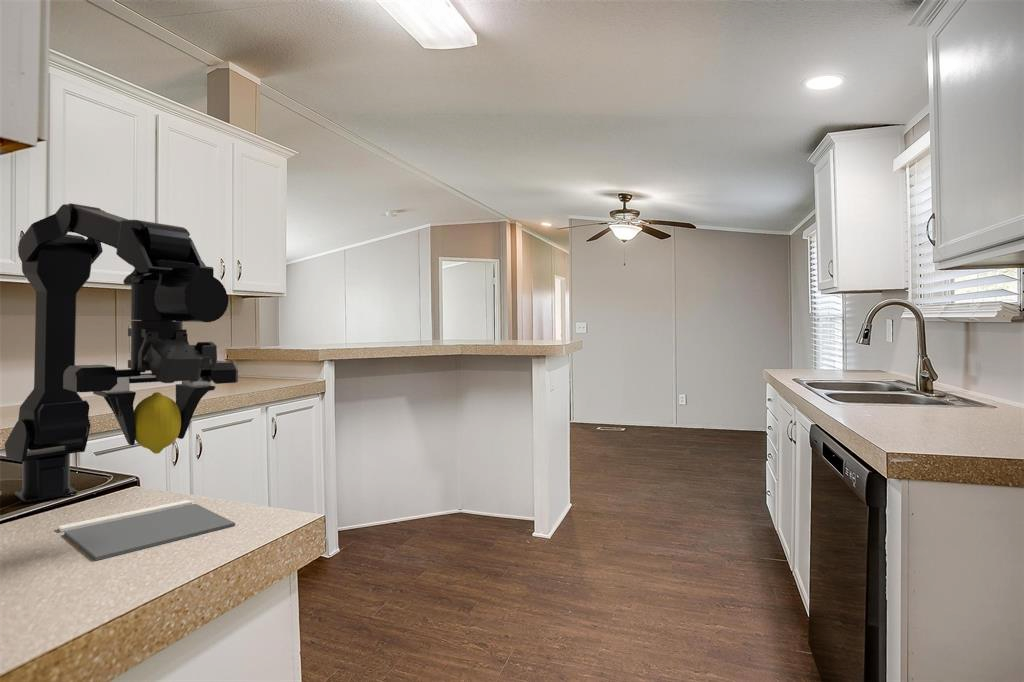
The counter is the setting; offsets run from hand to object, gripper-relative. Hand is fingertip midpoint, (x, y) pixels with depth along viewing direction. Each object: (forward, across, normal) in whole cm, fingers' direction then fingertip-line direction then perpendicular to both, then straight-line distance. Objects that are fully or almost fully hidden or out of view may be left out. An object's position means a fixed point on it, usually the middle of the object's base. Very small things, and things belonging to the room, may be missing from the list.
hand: (156, 441), depth 77 cm
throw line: (+12, 0, +9) cm, 15 cm away
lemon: (+2, 0, 0) cm, 2 cm away
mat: (+12, 0, +1) cm, 12 cm away
